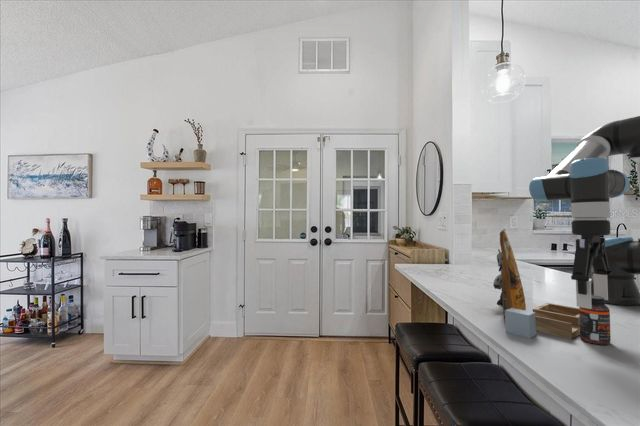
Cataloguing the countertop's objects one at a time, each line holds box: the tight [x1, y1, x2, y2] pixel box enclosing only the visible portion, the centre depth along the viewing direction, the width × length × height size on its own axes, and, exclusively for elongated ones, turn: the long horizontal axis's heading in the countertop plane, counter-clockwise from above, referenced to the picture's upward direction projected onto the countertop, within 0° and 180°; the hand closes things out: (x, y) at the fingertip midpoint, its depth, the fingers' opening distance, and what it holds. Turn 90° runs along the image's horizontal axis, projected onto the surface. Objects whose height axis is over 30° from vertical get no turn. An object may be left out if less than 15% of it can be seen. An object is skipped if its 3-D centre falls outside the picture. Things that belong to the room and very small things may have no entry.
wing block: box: [504, 308, 537, 339], centre depth 88 cm, size 4×6×6 cm, turn 36°
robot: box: [492, 249, 503, 307], centre depth 117 cm, size 20×5×20 cm, turn 137°
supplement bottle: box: [578, 295, 612, 346], centre depth 81 cm, size 6×6×11 cm
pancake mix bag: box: [499, 228, 527, 319], centre depth 104 cm, size 7×19×28 cm, turn 141°
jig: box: [532, 302, 580, 340], centre depth 93 cm, size 18×12×4 cm, turn 126°
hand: (592, 303), depth 81 cm, fingers open, 13 cm apart
